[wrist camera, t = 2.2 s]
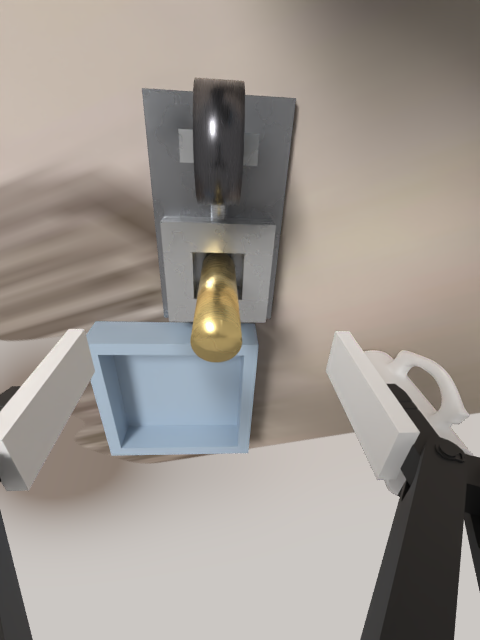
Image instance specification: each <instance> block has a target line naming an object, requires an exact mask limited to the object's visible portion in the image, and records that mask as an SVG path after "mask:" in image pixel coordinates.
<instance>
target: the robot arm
mask: <svg viewBox="0 0 480 640" xmlns="http://www.w3.org/2000/svg"><path fill="white" fill-rule="evenodd" d="M326 372H327V374H328V377H329V379H330V381H331V383H332V385H333V387H334V389H335V391H336V393H337V396H338V398H339V400H340V402H341V404H342V406H343V408H344V410H345V413H346V415H347V417H348V419H349V421H350V423H351V425H352V427H353V429H354V432H355V434H356V436H357V438H358V440H359V442H360V444H361V446H362V449H363V451H364V453H365V455H366V457H367V459H368V461H369V463H370V465H371V468H372V470H373V472H374V474H375V476H376V478H377V480H391V479H396V478H397V476H398V474H399V472H400V470H401V471H402V473H403V475H404V476H405V478H406V481H405V482H404V484H403V486H402V488H401V490H400V492H399V493H398V495H397V496H399V497H400V499H399V502H398V506H397V509H396V513H395V517H394V521H393V524H392V528H391V531H390V535H389V538H388V542H387V546H386V549H385V553H384V556H383V560H382V564H381V567H380V571H379V574H378V578H377V582H376V585H375V589H374V592H373V596H372V600H371V603H370V607H369V610H368V614H367V618H366V621H365V625H364V628H363V632H362V636H361V640H454V631H455V619H456V607H457V595H458V583H459V571H460V559H461V546H462V534H463V522H464V521H465V526H466V530H467V535H468V540H469V544H470V549H471V554H472V558H473V563H474V568H475V572H476V576H477V581H478V586H479V591H480V458H479V457H475V456H471V455H467V454H465V453H464V451H463V450H462V449H461V448H460V447H458V446H457V445H456V444H454V443H453V442H451V441H449V440H447V439H444V438H441V437H439V435H438V434H437V433H436V431H435V430H434V429H433V427H432V426H431V425H430V424H429V422H428V421H427V420H426V418H425V417H424V416H423V414H422V413H421V412H420V410H418V408H417V406H416V405H415V404H414V402H412V400H411V398H410V397H409V396H408V394H407V393H406V392H405V391H404V390H403V389H401V388H400V387H399V386H397V385H396V384H386V383H385V382H384V380H383V379H382V377H381V376H380V375H379V373H378V372H377V370H376V369H375V367H374V366H373V365H372V363H371V362H370V360H369V359H368V357H367V356H366V355H365V353H364V352H363V350H362V349H361V347H360V346H359V345H358V343H357V342H356V340H355V339H354V337H353V336H352V335H351V333H350V332H349V331H335V335H334V339H333V343H332V347H331V351H330V356H329V360H328V364H327V368H326ZM94 373H95V369H94V365H93V361H92V357H91V353H90V349H89V345H88V341H87V337H86V333H85V329H68V331H67V332H66V333H65V334H64V335H63V337H62V338H61V339H60V340H59V342H58V343H57V344H56V345H55V346H54V348H53V349H52V350H51V351H50V353H49V354H48V355H47V356H46V357H45V358H44V360H43V361H42V362H41V363H40V365H39V366H38V367H37V368H36V369H35V370H34V372H33V373H32V374H31V375H30V377H29V378H28V379H27V380H26V381H25V382H24V384H23V385H22V386H17V387H16V386H14V387H13V386H12V387H11V388H9V389H8V390H6V391H5V392H4V393H2V394H0V482H2V484H3V486H4V487H5V489H6V490H7V491H21V490H29V489H30V487H31V486H32V484H33V482H34V480H35V478H36V477H37V475H38V473H39V471H40V469H41V467H42V466H43V464H44V462H45V460H46V459H47V457H48V455H49V453H50V451H51V450H52V448H53V446H54V444H55V443H56V441H57V439H58V437H59V435H60V433H61V431H62V430H63V428H64V426H65V425H66V423H67V421H68V419H69V417H70V415H71V414H72V412H73V410H74V408H75V407H76V405H77V403H78V401H79V399H80V398H81V396H82V394H83V392H84V391H85V389H86V387H87V385H88V383H89V382H90V380H91V378H92V376H93V374H94ZM0 640H33V639H32V635H31V631H30V627H29V623H28V619H27V615H26V612H25V607H24V603H23V599H22V595H21V591H20V588H19V583H18V579H17V575H16V571H15V567H14V563H13V560H12V555H11V551H10V547H9V543H8V540H7V535H6V532H5V527H4V523H3V519H2V515H1V511H0Z"/></svg>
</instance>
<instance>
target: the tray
mask: <svg viewBox="0 0 480 640" xmlns="http://www.w3.org/2000/svg"><path fill="white" fill-rule="evenodd" d="M192 327H193V323H180V322H101V321H96V322H95V323H94V325H93V326H92V327H91V329H90V330H89V332H88V333H87V335H86V337H87V341H88V345H89V349H90V353H91V357H92V361H93V365H94V369H95V373H94V374H93V376H92V378H91V384H92V387H93V391H94V394H95V398H96V401H97V405H98V409H99V412H100V416H101V419H102V423H103V426H104V430H105V433H106V437H107V441H108V444H109V448H110V451H111V455H166V454H225V453H248V450H249V439H250V429H251V418H252V408H253V398H254V387H255V377H256V366H257V356H258V339H257V333H256V328H255V323H241V332H242V347H241V349H240V351H239V352H238V354H237V355H236V356H235V357H233V358H232V359H230V360H227V361H224V362H217V363H215V362H209V361H205V360H203V359H201V358H200V357H198V356H197V355H196V354H195V353H194V351H193V350H192V347H191V343H190V339H191V333H192Z"/></svg>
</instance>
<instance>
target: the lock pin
mask: <svg viewBox="0 0 480 640" xmlns="http://www.w3.org/2000/svg"><path fill="white" fill-rule="evenodd" d="M190 343H191V347H192V350H193V351H194V353H195V354H196V355H197V356H198V357H200V358H201V359H203V360H205V361H209V362H215V363H217V362H224V361H227V360H230V359H232V358H233V357H235V356H236V355H237V354H238V352H239V351H240V349H241V347H242V332H241V322H240V313H239V303H238V293H237V283H236V273H235V264H234V262H233V260H232V258H231V257H230V256H228V255H227V254H225V253H212V254H210V255H208V256H207V257H206V258H205V259H204V261H203V264H202V270H201V277H200V283H199V289H198V295H197V302H196V308H195V314H194V320H193V327H192V333H191V339H190Z"/></svg>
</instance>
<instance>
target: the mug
mask: <svg viewBox="0 0 480 640" xmlns="http://www.w3.org/2000/svg"><path fill="white" fill-rule="evenodd" d="M364 353H365V355H366V356H367V357H368V359H369V360H370V362H371V363H372V365H373V366H374V367H375V369H376V370H377V372H378V373H379V375H380V376H381V377H382V379H383V380H384V382H385V383H386V384H396V385H397V386H399V387H400V388H401V389H403V390H404V391H405V392H406V393H407V394H408V396H409V397H410V398H411V400H412V402H414V404H415V405H416V406H417V408H418V410H420V412H421V413H422V414H423V416H424V417H425V418H426V420H427V421H428V422H429V424H430V425H431V426H432V427H433V429H434V430H435V431H436V433H437V434H438V435H439V437H441V438H444V439H447V440H449V441H451V442H453V443H454V444H456V445H457V446H458V447H460V448H461V449H462V450H463V451H464V453H465V454H467V455H471V456H473V454H472V453H471V452H470V451H469V450H468V449H467V447H466V446H465V445H464V443H463V442H462V441H461V440H460V439H459V437H458V436H457V435H456V433H455V432H454V431H453V430H452V429H451V425H452V424H460V423H462V422H463V421H464V420H465V419H466V418H468V417H469V416H470V415H469V413H468V412H467V411H466V410H465V408H464V405H463V403H462V400H461V397H460V394H459V392H458V390H457V387H456V385H455V383H454V382H453V380H452V378H451V377H450V375H449V374H448V373H447V371H446V370H445V369H444V368H443V367H442V366H440V365H439V364H438V363H436V362H435V361H433V360H431V359H429V358H426V357H424V356H421V355H418V354H416V353H413V352H410V351H405V350H402V351H400V352H399V354H398V355H397V357H396V358H395V359H393V358H392V357H391V356H390V355H388V354H387V353H385V352H383V351H378V350H369V351H364ZM414 366H418V367H420V368H422V369H424V370H425V371H427V372H428V373H429V374H430V375H432V376H433V378H434V379H435V380H436V382H437V383H438V386H439V388H440V391H441V396H442V402H441V407H440V409H439V410H438V411H436V409H435V408H434V407H433V406H432V405H431V403H430V402H429V401H428V400H427V399H426V397H425V396H424V395H423V394H422V393H421V391H420V390H419V389H418V388H417V387H416V385H415V384H414V383H413V382H412V381H411V379H410V378H409V377H408V376H407V373H408V371H409V370H410V369H411V368H412V367H414ZM384 481H385V483H386V486H387V488H388V490H389V491H391V492H392V493H393V494H395V495H398V493H399V492H400V490H401V488H402V486H403V484H404V482H405V481H406V478H405V476H404V475H403V473H402V471H401V470H400V472H399V474H398V476H397V478H396V479H391V480H384Z"/></svg>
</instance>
